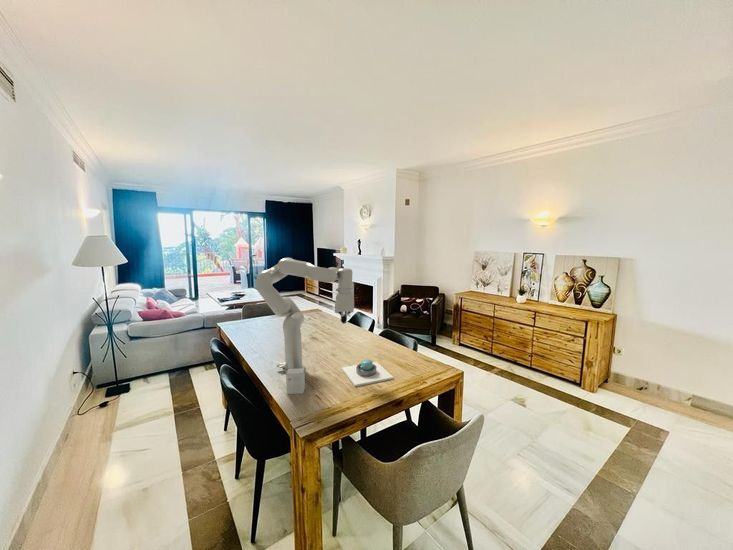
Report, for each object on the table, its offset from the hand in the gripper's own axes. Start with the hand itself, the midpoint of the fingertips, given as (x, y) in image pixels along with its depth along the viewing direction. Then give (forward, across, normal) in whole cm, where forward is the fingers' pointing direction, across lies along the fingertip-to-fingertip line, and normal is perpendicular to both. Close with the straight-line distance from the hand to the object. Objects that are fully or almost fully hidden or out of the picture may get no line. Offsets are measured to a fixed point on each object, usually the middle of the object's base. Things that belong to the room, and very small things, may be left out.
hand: (343, 322), depth 168 cm
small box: (+28, -28, -16) cm, 43 cm away
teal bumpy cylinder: (+26, +11, -11) cm, 30 cm away
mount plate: (+27, +11, -11) cm, 31 cm away
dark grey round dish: (+27, +11, -11) cm, 31 cm away
